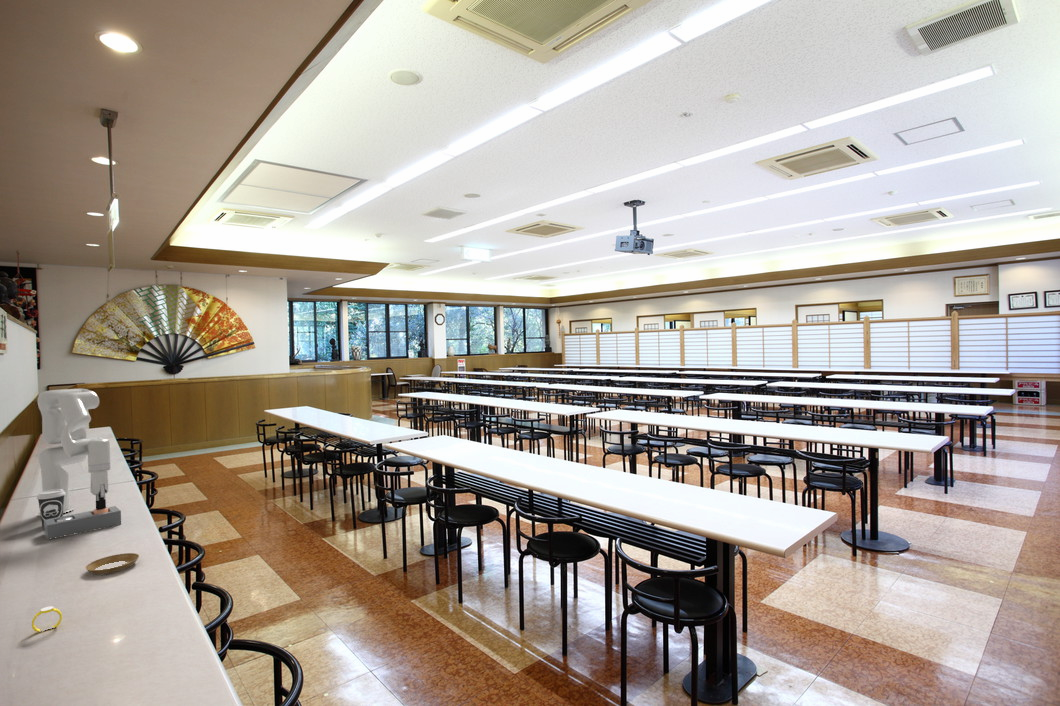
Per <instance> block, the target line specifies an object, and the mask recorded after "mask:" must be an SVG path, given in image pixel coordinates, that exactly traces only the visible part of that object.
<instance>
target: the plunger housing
mask: <svg viewBox="0 0 1060 706" xmlns="http://www.w3.org/2000/svg"><path fill="white" fill-rule="evenodd" d="M66 517H73V519H71V520H65V521H60V522H57V520H58V519H61V518H66ZM119 524H120V525H122V510H121V509H119V508H118V507H117V506H115V505H114V506H109V507H108V512H106V513H101V514H96V515H94V513H93V510H89V511H82V512H78V513H73V514H68V515H63V516H62V517H57V518H52V519H46V520H44V527H43V530H44V531H43V535H44V534H45V535H44V536H45V538H46V537H47V538H46V539H47V540H48V539H50V538H55V537H60V536H64V535H69V536H71V535H70V534H74V533H78V534H81V533H80V532H83V533H86V532H85V531H87V532H91V531H90V530H92V531H95V530H94V529H97V530H100V529H99V528H101V529H105V528H104V527H106V528H110V527H109V526H111V527H114V525H115V526H119ZM74 535H75V534H74ZM64 537H65V536H64ZM60 538H61V537H60ZM55 539H56V538H55Z"/></svg>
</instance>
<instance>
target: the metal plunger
mask: <svg viewBox="0 0 1060 706" xmlns="http://www.w3.org/2000/svg"><path fill="white" fill-rule="evenodd" d="M71 519H73V517H66V518H61V519H58V520H57V522H60V521H65V520H71Z"/></svg>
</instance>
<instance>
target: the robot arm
mask: <svg viewBox="0 0 1060 706" xmlns="http://www.w3.org/2000/svg"><path fill="white" fill-rule="evenodd" d="M37 405H38V409H39V411H40V415H41V419H42V421H41V426H42V429H41V430H42V432H41V433H42V441H43V443H44V444H45V445H58V446H51V447H47V448H44V449H42V450H40V452H39V453H38V455H37V456H38V457H37V459H38V463H39V466H40V468H39V469H40V474H41V490H42V491H41V492H43V491H47V490H54V489H63V491H64V492H65V493H66V494H65V495H64V505H63V513H65V514H67V513H66V512H68V513H70V512H69V511H71V512H73V511H74V510H75V507H74V506H70V485H69V484H70V483H69V473H68V472H67V470H66V469H64V468H63V466H68V465H74V464H80V463H83V462H84V461H85V459H86V458H87V464H88V466H87V468H88V469H87V470H88V472H87V473H90V488H89V489H90V493H91V494H92V495H94V496H95V509H97V510H101V509H105V508H106V507H107V500H106V494H108V493H109V474H108V472H109V471H110V470H111V451H110V450H111V448H110V445H111V444H110V440H109V439H107V438H103V437H101V436H95V437H87V428H86V426H87V425H88V424H89V423H90V422H91V421H92V417H91V415H90V413H89V411H88V410H92V409H93V410H94V409H96V408H98V407H99V405H100V398H99V396H98V394H97V393H96V392H95V391H93V390H90V389H87V388H70V389H69V388H68V389H66V388H64V389H53V390H46V391H45V390H44V391H42V392H41V393H39V395H38V396H37ZM59 444H60V445H59ZM73 509H74V510H73ZM72 510H73V511H72ZM38 517H41V514H40V511H39V512H38Z"/></svg>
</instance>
